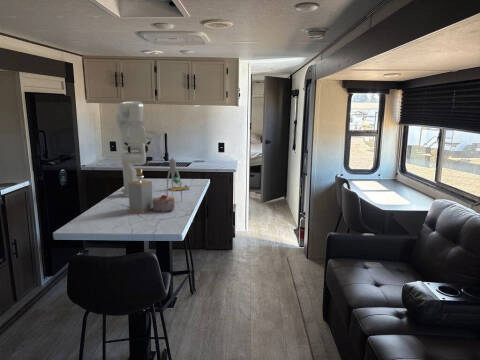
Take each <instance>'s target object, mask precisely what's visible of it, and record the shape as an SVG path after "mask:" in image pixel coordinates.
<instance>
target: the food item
mask: <svg viewBox="0 0 480 360" xmlns="http://www.w3.org/2000/svg"><path fill="white" fill-rule="evenodd" d="M152 200H153V210H152V211H153V212H154V213H155V212H161V213H164V212H172V211H174V210H175V208H176V205H175V204H176V202H175V201H176V200H175V197H174V196H168V197H167V194H166V195H165V194H163V195H162V194H161V195H160V197H159V196H158V197H157V196H156V197H152Z"/></svg>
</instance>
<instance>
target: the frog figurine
mask: <svg viewBox="0 0 480 360" xmlns="http://www.w3.org/2000/svg"><path fill="white" fill-rule="evenodd" d="M180 181H181V183H183V182H182V180H180ZM170 182H171V183H172V180H170ZM181 187H182V190H183V189H184V191H185V190H186V191H187V190H188V191H189V190H190V187H189V186H188V185H187V184H185V185H184V186H181ZM168 191H172V187H170V188H168ZM174 191H181V189H180V182H179V178H178V175H177V172H175V176H174V178H173V192H174Z"/></svg>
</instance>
